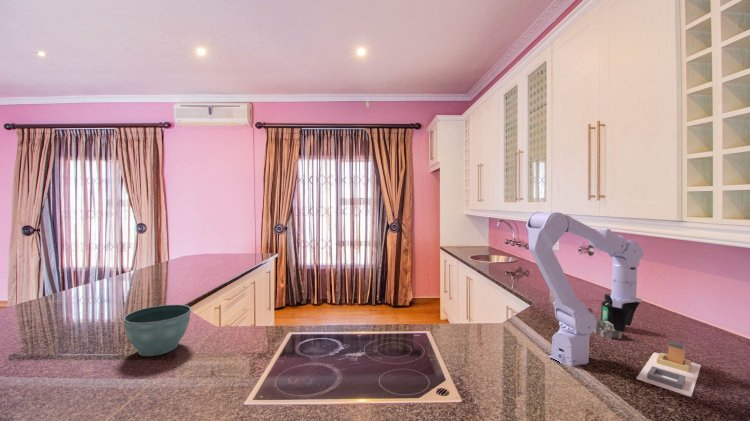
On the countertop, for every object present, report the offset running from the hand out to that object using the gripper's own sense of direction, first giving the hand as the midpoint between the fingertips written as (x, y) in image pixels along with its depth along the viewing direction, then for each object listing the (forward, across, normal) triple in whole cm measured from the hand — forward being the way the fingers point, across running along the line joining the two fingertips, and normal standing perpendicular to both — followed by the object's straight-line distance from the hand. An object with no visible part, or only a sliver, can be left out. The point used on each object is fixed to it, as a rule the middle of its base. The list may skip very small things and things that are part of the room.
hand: (622, 327), depth 93 cm
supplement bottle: (+10, +30, +9) cm, 33 cm away
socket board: (+9, 0, -10) cm, 14 cm away
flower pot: (+10, -103, +88) cm, 135 cm away
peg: (+9, +7, -11) cm, 15 cm away
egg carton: (+10, +21, +9) cm, 25 cm away
